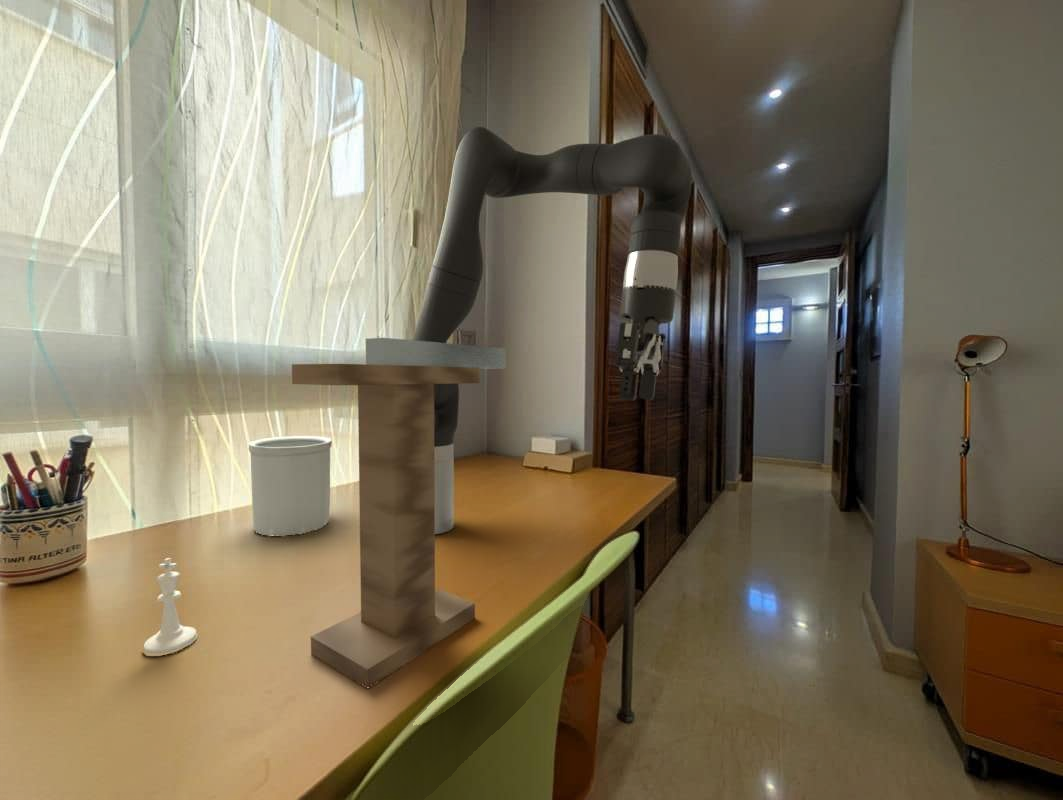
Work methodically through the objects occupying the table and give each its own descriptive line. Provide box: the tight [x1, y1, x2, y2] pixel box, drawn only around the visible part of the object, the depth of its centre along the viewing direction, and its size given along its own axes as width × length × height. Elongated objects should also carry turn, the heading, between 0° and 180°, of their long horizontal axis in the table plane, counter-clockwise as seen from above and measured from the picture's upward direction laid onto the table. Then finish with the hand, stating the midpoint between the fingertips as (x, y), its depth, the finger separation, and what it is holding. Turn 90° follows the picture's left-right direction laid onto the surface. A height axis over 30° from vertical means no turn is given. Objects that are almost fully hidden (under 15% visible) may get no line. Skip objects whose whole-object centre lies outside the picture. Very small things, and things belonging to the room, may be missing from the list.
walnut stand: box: [291, 363, 480, 688], centre depth 54 cm, size 20×10×32 cm, turn 146°
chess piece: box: [143, 557, 198, 655], centre depth 52 cm, size 5×5×10 cm
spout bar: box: [365, 337, 507, 370], centre depth 59 cm, size 22×3×3 cm, turn 146°
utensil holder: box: [248, 435, 333, 537], centre depth 93 cm, size 15×15×18 cm
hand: (637, 399), depth 67 cm, fingers open, 8 cm apart
